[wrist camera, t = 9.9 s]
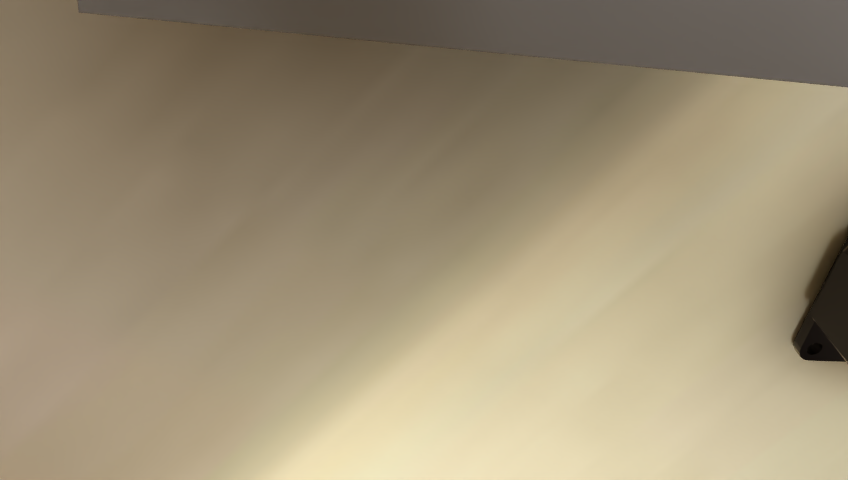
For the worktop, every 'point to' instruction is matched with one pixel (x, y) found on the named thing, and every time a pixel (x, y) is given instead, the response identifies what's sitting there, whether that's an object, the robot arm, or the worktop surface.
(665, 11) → the box
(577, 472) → the worktop surface
